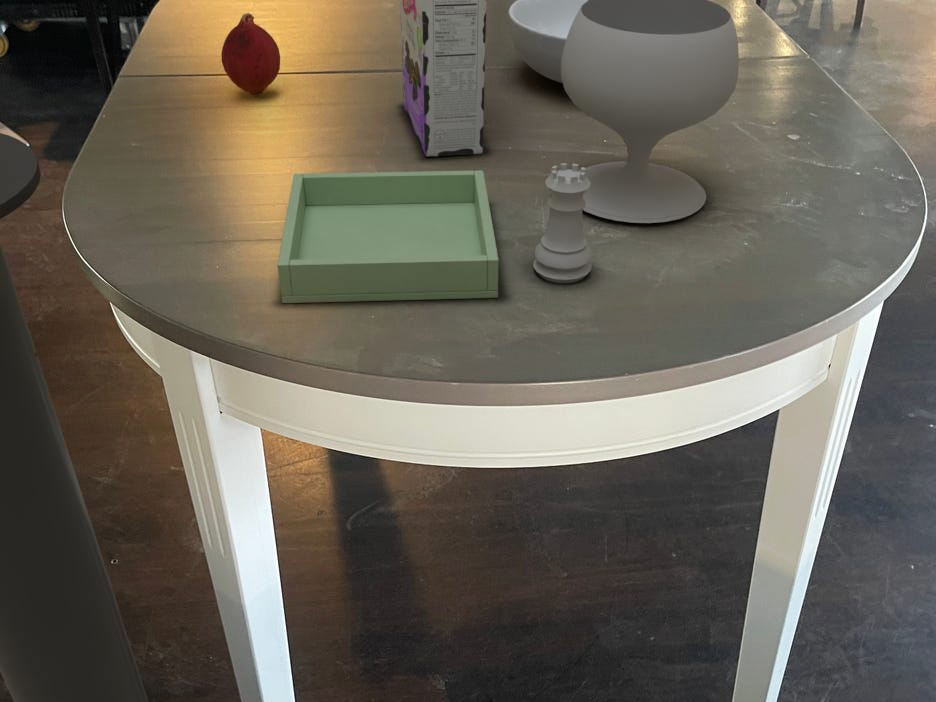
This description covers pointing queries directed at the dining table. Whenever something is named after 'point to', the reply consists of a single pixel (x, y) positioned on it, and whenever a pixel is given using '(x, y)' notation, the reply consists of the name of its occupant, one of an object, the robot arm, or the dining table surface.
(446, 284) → the tray
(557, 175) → the rook chess piece
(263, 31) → the onion
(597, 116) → the chalice
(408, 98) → the candy box
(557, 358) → the dining table surface
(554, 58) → the serving bowl
